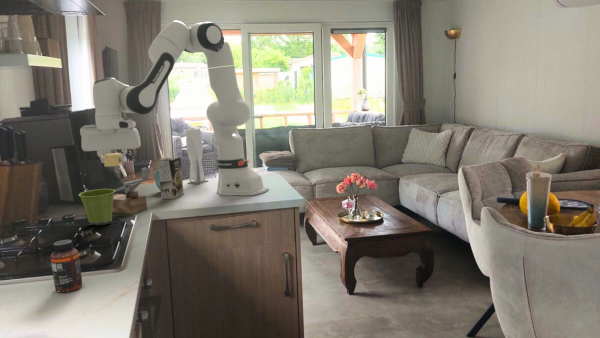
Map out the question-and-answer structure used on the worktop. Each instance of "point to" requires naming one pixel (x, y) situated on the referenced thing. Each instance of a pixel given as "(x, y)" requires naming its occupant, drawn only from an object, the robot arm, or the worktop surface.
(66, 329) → the worktop surface
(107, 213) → the plant pot
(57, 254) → the supplement bottle
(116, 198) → the plane body
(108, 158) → the pale yellow block
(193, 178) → the skyscraper
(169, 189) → the coffee box
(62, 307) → the worktop surface
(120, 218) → the worktop surface
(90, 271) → the worktop surface
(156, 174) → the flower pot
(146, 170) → the cam lever
